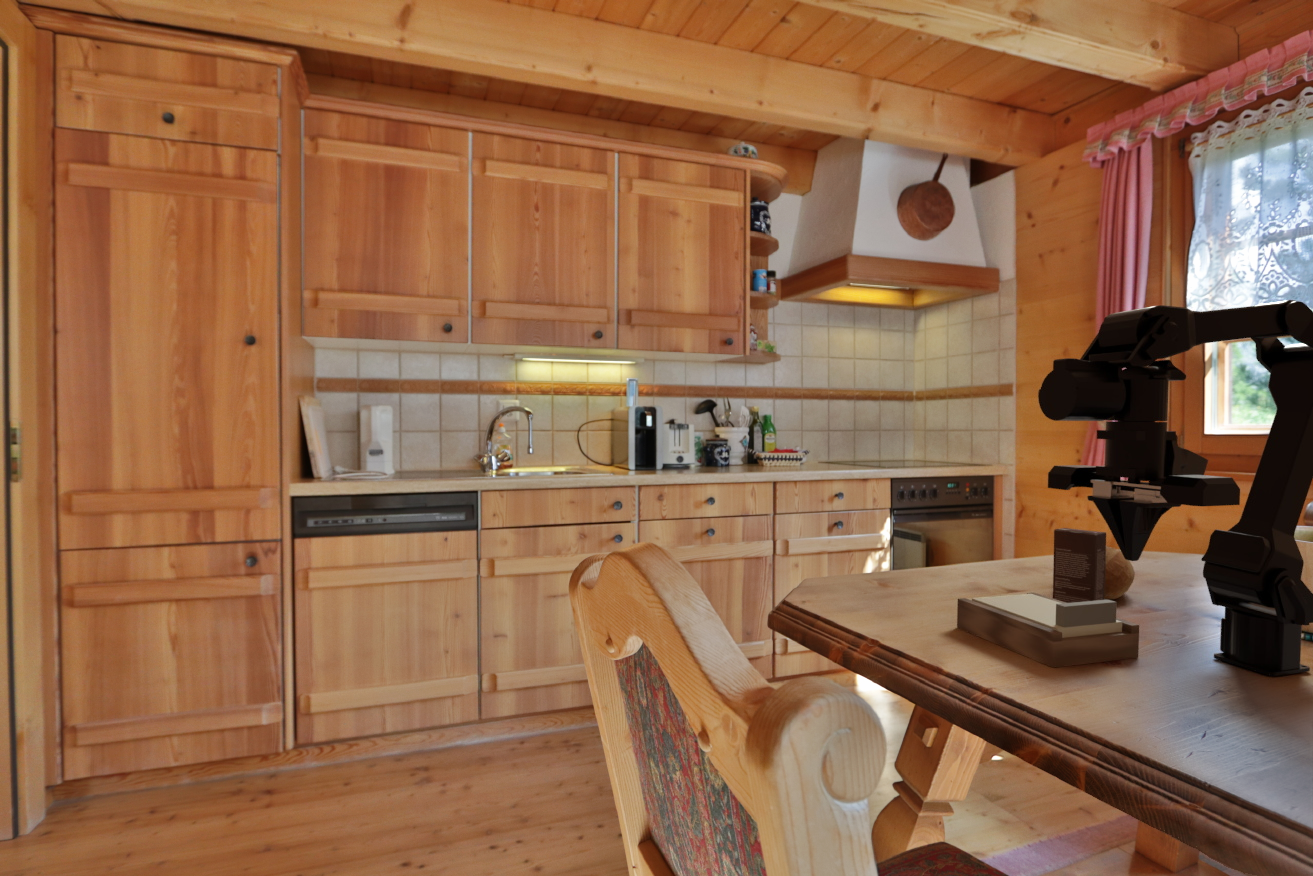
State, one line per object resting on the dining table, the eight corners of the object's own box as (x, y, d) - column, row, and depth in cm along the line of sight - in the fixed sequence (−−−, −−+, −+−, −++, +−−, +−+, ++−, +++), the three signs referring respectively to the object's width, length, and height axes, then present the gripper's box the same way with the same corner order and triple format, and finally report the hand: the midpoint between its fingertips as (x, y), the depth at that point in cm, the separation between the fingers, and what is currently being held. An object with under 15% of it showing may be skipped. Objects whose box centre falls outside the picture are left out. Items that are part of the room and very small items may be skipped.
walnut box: (1138, 657, 86) (1139, 624, 86) (1053, 667, 82) (1054, 633, 82) (1032, 620, 101) (1033, 592, 101) (957, 627, 97) (957, 598, 97)
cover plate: (1121, 631, 86) (1122, 601, 86) (1056, 638, 83) (1057, 607, 83) (1030, 602, 99) (1031, 576, 99) (971, 607, 97) (972, 580, 96)
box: (1105, 611, 106) (1108, 531, 106) (1094, 616, 103) (1096, 534, 103) (1062, 602, 111) (1064, 526, 111) (1050, 607, 108) (1052, 529, 108)
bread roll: (1068, 600, 113) (1069, 550, 113) (1062, 581, 126) (1063, 536, 126) (1140, 608, 108) (1142, 556, 108) (1126, 587, 122) (1128, 541, 122)
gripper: (1281, 423, 72) (1275, 574, 73) (1115, 421, 90) (1111, 542, 91) (1201, 422, 69) (1196, 580, 70) (1045, 420, 87) (1042, 546, 88)
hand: (1131, 560), depth 80 cm, fingers closed
